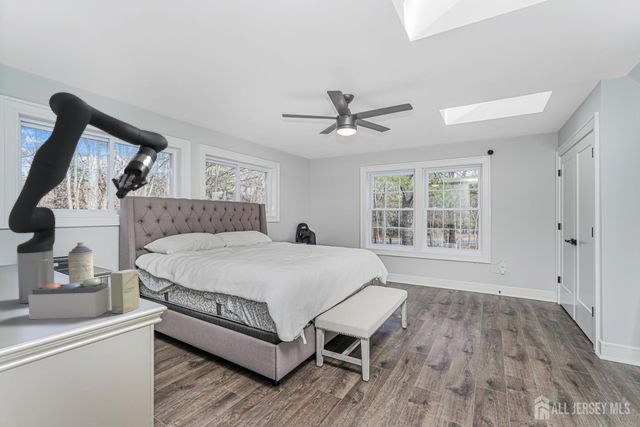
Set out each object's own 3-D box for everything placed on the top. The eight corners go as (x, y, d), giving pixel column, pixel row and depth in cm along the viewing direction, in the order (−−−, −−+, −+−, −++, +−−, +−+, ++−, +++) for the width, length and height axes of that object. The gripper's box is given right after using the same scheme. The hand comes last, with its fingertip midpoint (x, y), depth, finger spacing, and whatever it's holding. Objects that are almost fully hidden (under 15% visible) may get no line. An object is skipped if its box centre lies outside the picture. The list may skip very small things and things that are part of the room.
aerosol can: (98, 294, 108) (97, 241, 108) (85, 300, 102) (83, 243, 101) (79, 295, 108) (77, 241, 108) (64, 301, 101) (62, 244, 101)
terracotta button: (38, 293, 86) (38, 286, 86) (51, 289, 90) (50, 283, 90) (52, 293, 86) (52, 286, 86) (64, 289, 90) (63, 282, 90)
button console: (29, 319, 84) (28, 290, 84) (51, 310, 91) (50, 284, 91) (95, 317, 84) (94, 288, 84) (112, 308, 91) (111, 282, 91)
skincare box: (123, 314, 86) (121, 273, 86) (110, 313, 87) (109, 273, 87) (140, 307, 93) (138, 269, 92) (128, 306, 93) (127, 268, 93)
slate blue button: (59, 292, 86) (58, 286, 86) (70, 289, 90) (70, 282, 90) (72, 292, 86) (72, 285, 86) (83, 288, 90) (83, 282, 90)
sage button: (79, 288, 86) (79, 281, 86) (90, 284, 90) (89, 278, 90) (93, 287, 86) (93, 281, 86) (103, 284, 90) (102, 277, 90)
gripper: (117, 160, 112) (94, 189, 100) (152, 159, 112) (133, 188, 100) (127, 175, 118) (106, 205, 105) (159, 174, 118) (142, 204, 106)
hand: (119, 197), depth 103 cm, fingers closed
